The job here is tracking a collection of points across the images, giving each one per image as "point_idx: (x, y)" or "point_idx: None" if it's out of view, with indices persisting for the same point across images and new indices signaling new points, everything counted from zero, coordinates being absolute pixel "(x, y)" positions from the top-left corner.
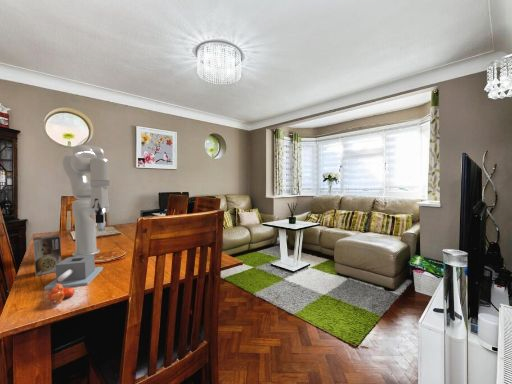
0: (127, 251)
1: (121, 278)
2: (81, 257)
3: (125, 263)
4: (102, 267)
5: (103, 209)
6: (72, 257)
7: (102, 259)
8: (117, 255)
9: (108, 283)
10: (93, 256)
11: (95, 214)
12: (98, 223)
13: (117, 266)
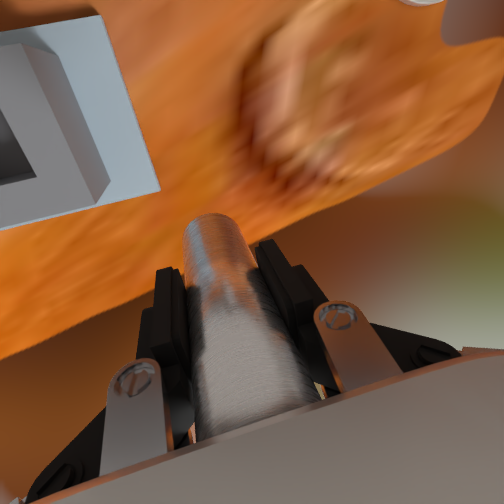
0: (399, 166)
1: (61, 315)
2: (32, 156)
3: None
4: (152, 192)
5: None
6: (21, 87)
7: (298, 102)
8: (347, 149)
9: (6, 300)
10: (81, 206)
11: (116, 377)
12: (187, 275)
13: None
